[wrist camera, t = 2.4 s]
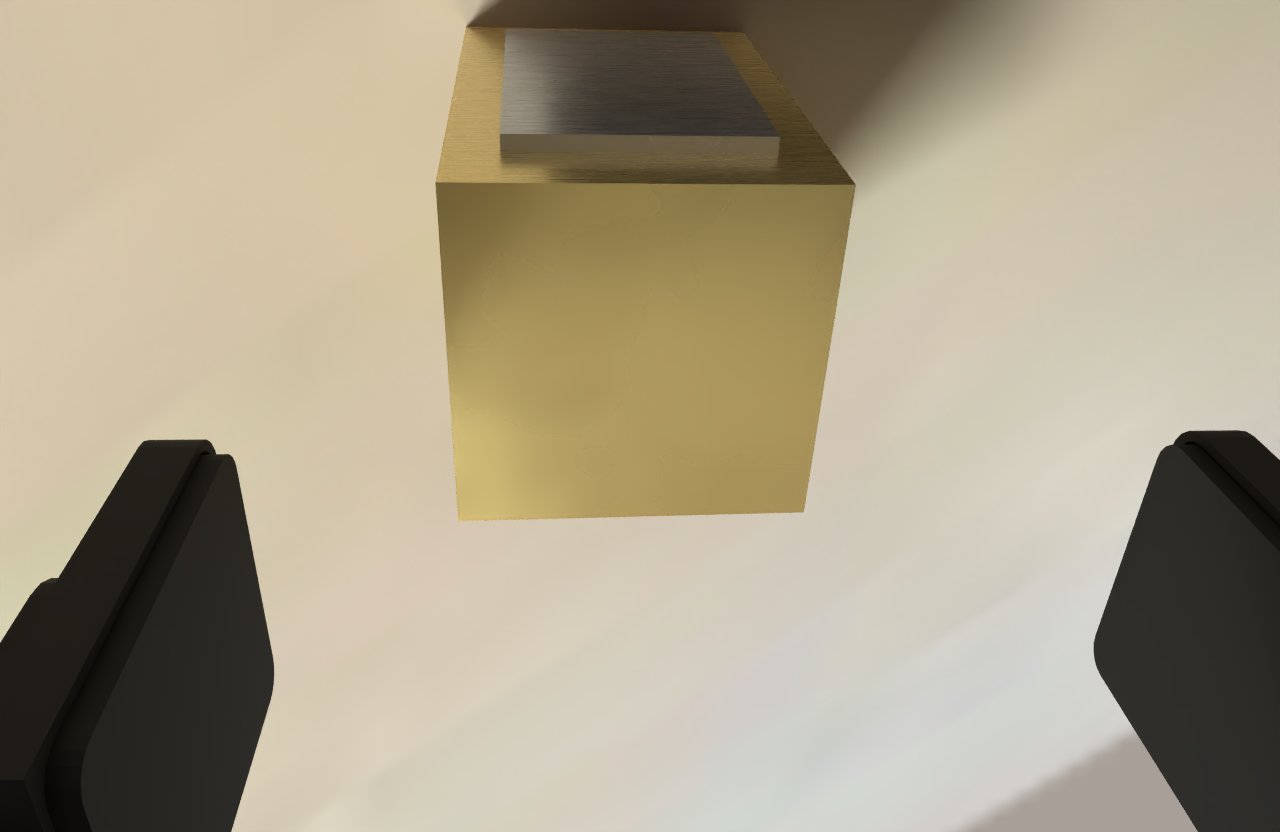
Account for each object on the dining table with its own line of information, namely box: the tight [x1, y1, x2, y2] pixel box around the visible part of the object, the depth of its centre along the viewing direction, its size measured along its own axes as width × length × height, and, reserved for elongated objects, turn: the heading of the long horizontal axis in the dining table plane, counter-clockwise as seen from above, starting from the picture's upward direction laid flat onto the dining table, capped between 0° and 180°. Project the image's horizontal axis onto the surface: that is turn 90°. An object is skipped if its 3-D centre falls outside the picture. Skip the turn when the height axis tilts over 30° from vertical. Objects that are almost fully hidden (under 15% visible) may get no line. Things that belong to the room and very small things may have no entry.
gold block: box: [436, 27, 856, 521], centre depth 15 cm, size 5×4×7 cm
